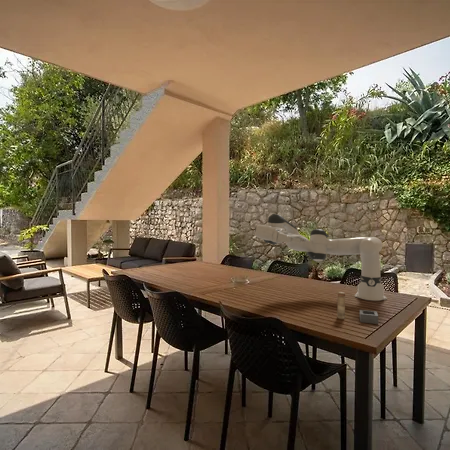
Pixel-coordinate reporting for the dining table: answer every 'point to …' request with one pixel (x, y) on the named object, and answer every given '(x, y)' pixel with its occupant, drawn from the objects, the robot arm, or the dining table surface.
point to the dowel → (341, 305)
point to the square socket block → (368, 316)
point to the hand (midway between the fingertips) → (302, 240)
